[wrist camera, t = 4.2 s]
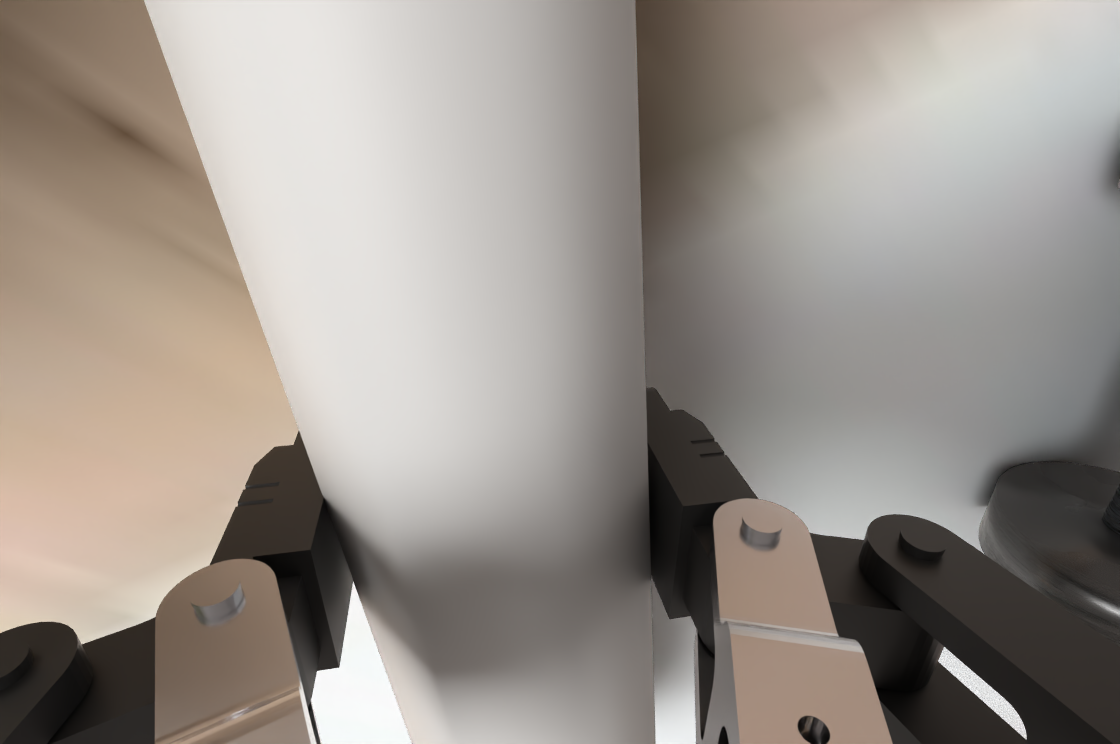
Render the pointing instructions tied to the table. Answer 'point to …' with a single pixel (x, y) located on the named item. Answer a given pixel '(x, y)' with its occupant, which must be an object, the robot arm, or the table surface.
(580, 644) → the tube
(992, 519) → the trolley
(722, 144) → the table surface
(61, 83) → the table surface
